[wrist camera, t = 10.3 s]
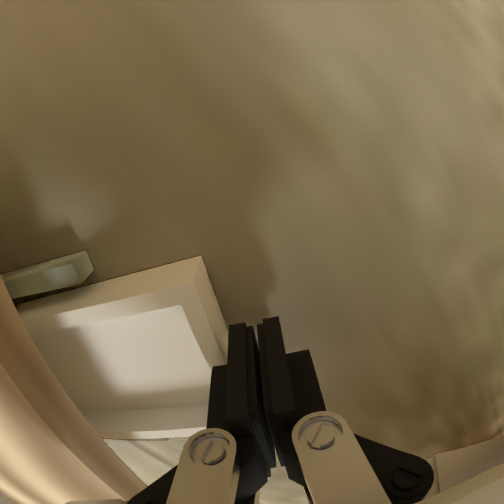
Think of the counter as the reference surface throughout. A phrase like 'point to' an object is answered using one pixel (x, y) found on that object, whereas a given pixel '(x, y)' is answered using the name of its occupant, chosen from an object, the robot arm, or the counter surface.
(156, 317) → the white rectangular tray
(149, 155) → the counter surface
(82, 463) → the shelf
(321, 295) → the counter surface
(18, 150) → the counter surface
